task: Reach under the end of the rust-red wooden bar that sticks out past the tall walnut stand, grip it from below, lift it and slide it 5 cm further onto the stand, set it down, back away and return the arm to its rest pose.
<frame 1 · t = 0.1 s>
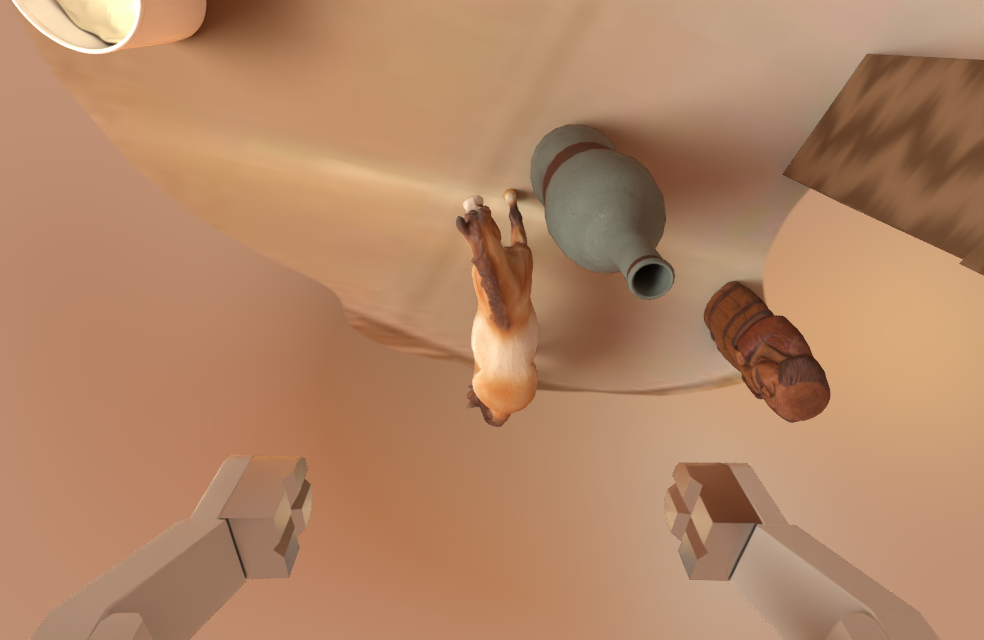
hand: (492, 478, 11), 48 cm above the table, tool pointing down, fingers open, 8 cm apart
bottle: (568, 163, 55), on the table
wooden figurine: (729, 318, 65), on the table
stand: (854, 134, 54), on the table
horse figurine: (474, 281, 62), on the table
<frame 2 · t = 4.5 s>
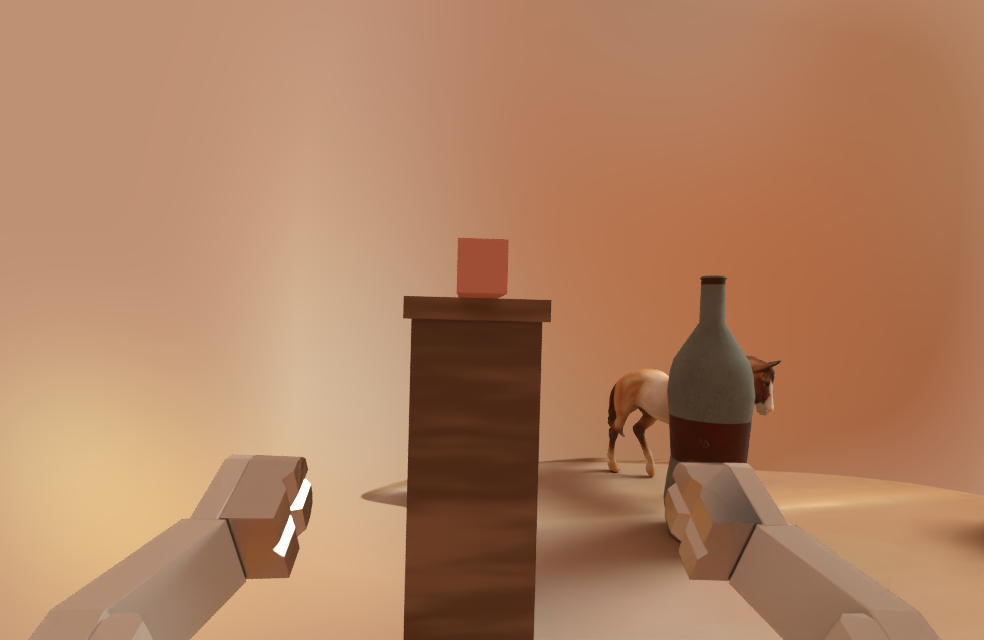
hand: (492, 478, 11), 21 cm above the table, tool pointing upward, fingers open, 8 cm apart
bottle: (705, 537, 57), on the table
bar: (477, 299, 36), point 26 cm above the table, touching stand
stand: (467, 615, 41), on the table
horse figurine: (677, 485, 75), on the table
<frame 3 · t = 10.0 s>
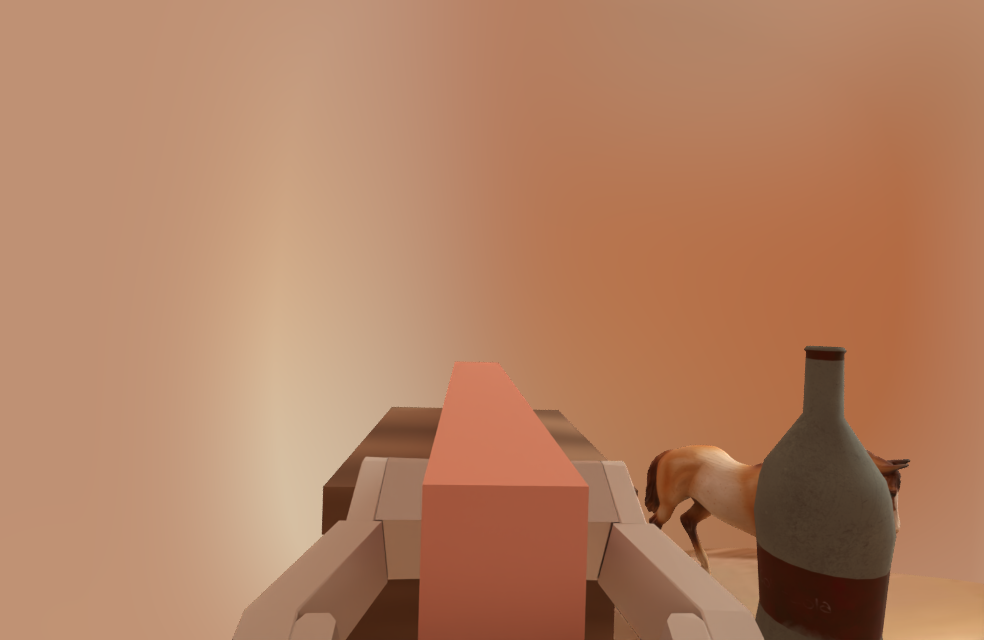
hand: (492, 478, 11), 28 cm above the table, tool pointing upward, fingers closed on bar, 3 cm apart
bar: (480, 461, 19), point 26 cm above the table, touching gripper, stand
horse figurine: (743, 603, 56), on the table
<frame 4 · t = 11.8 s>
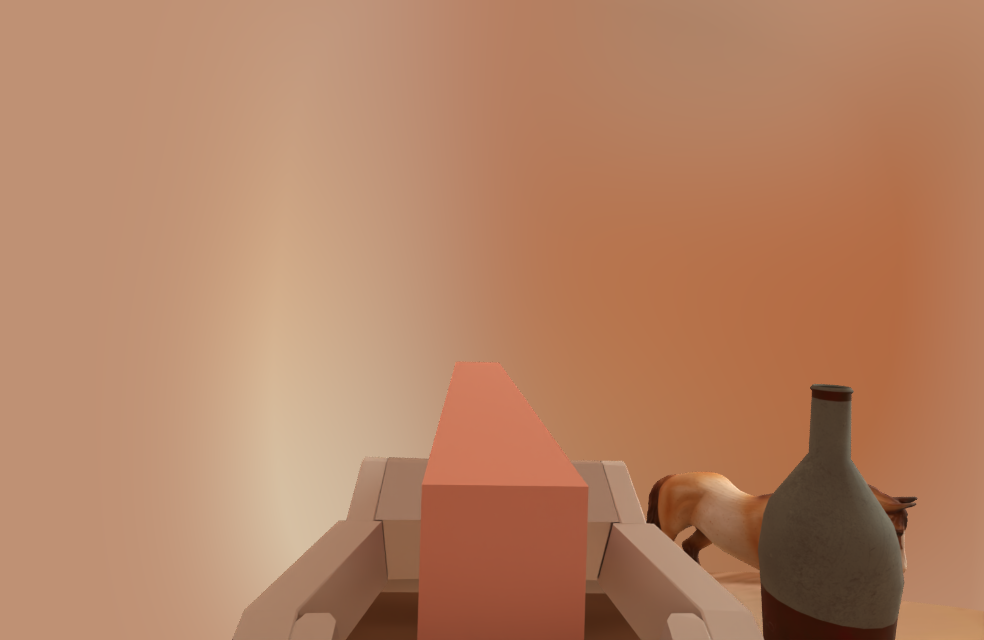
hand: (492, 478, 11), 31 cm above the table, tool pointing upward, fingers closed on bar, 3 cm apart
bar: (481, 461, 19), point 29 cm above the table, touching gripper
horse figurine: (745, 633, 56), on the table
when the fingers open (29 cm above the table, at t = 13.5 s): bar drops 1 cm, resting on stand.
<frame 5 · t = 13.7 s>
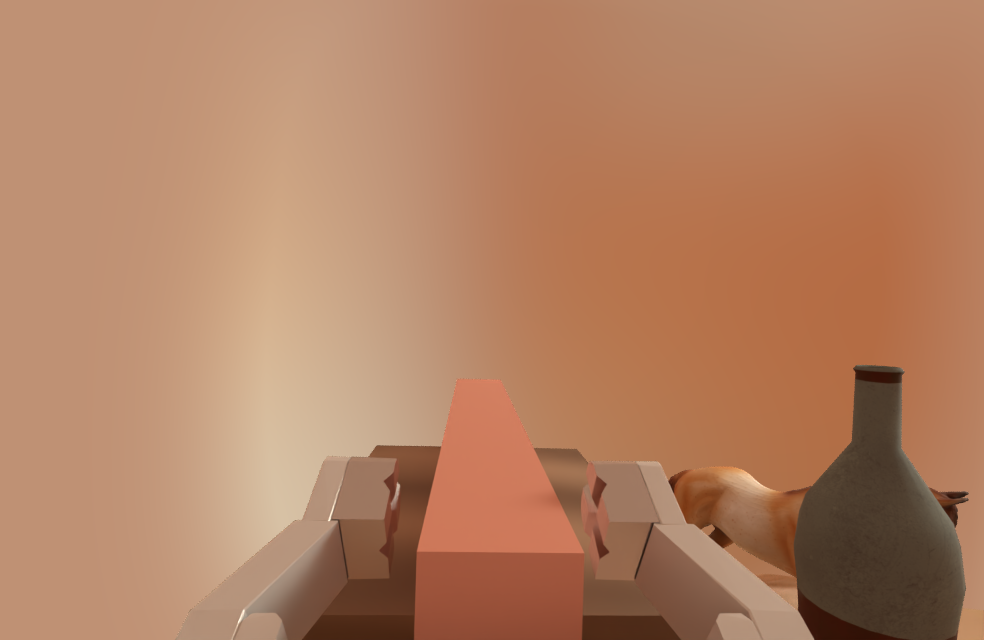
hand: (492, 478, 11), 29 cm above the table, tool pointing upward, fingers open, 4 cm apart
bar: (481, 488, 19), point 26 cm above the table, touching stand
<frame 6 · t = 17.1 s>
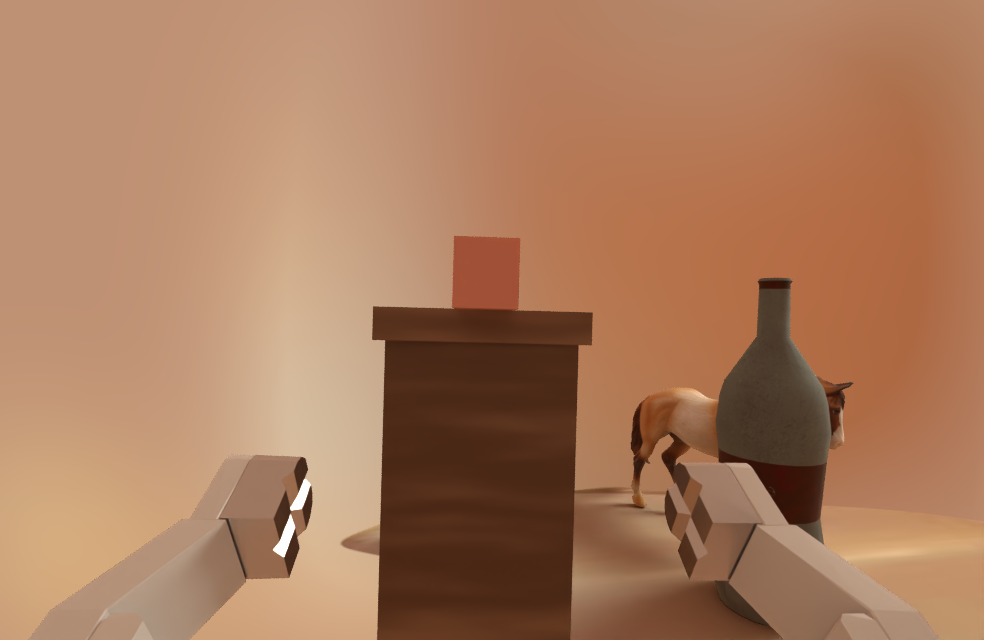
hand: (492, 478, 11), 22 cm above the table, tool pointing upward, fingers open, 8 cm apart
bottle: (765, 605, 46), on the table
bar: (480, 311, 30), point 26 cm above the table, touching stand
horse figurine: (716, 526, 63), on the table
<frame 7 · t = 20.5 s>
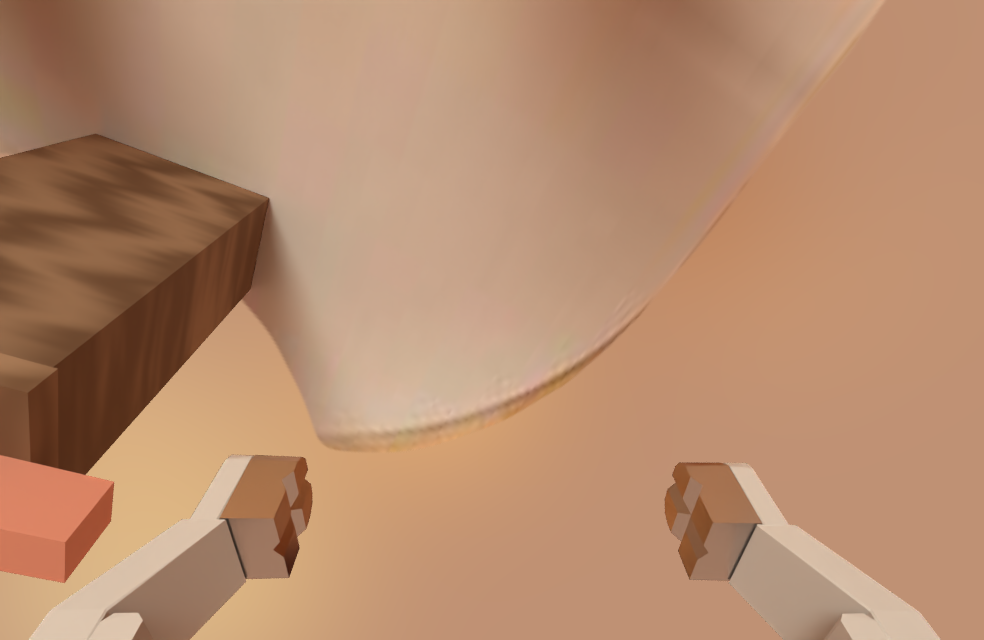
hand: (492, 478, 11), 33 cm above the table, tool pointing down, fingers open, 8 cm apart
stand: (179, 217, 41), on the table
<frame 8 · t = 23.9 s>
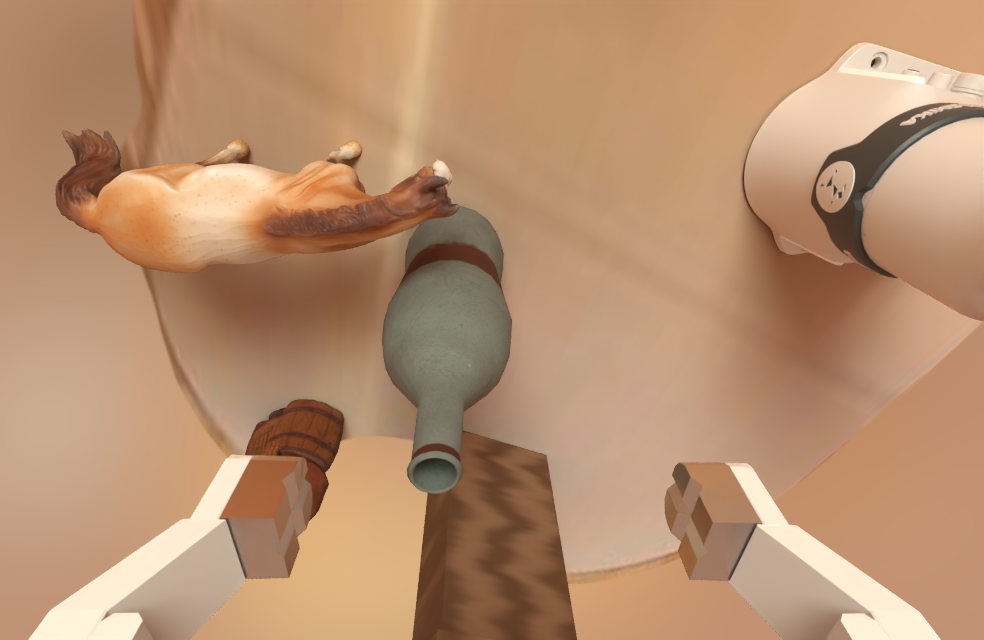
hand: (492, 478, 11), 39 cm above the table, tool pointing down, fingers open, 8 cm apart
bottle: (456, 244, 50), on the table
wooden figurine: (300, 421, 61), on the table
stand: (487, 465, 65), on the table
horse figurine: (290, 132, 44), on the table
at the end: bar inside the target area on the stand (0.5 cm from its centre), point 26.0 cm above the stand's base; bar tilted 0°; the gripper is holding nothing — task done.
